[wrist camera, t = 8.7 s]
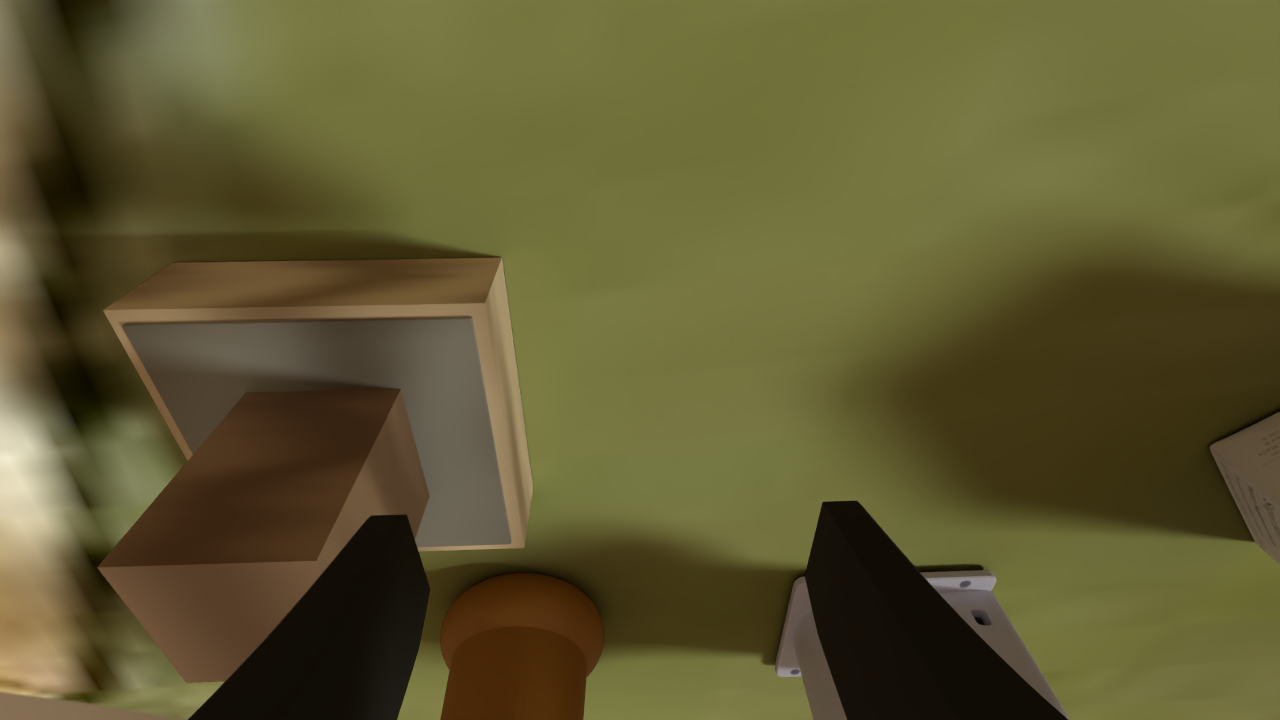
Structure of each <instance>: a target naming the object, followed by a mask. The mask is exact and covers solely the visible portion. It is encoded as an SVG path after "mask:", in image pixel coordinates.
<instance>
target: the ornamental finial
mask: <svg viewBox="0 0 1280 720" xmlns="http://www.w3.org/2000/svg"><path fill="white" fill-rule="evenodd" d="M440 644H441V651H442V655H443V658H444V660H445V663H446V665H447V666H448V668H449V669H450V671H449V677H448V682H447V687H446V693H445V698H444V704H443V709H442V714H441V720H583V716H584V702H585V689H586V677H587V676H588V675H589V674H590V673H591V672H592V670H593V669H594V668H595V666H596V664H597V663H598V660H599V658H600V656H601V653H602V649H603V644H604V629H603V623H602V620H601V617H600V614H599V612H598V610H597V608H596V607H595V605H594V604H593V602H592V601H591V600H590V599H589V598H588V597H587V596H586V595H585V594H584V593H583V592H582V591H581V590H579V589H578V588H576V587H575V586H573V585H572V584H570V583H568V582H566V581H563V580H561V579H558V578H555V577H552V576H548V575H543V574H536V573H511V574H504V575H499V576H495V577H492V578H489V579H486V580H484V581H482V582H479V583H477V584H476V585H474V586H472V587H471V588H469V589H468V590H466V591H465V592H464V593H463V594H462V595H460V596H459V597H458V598H457V600H456V601H455V602H454V603H453V604H452V606H451V607H450V609H449V610H448V612H447V614H446V616H445V619H444V621H443V624H442V629H441V636H440Z"/></svg>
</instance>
